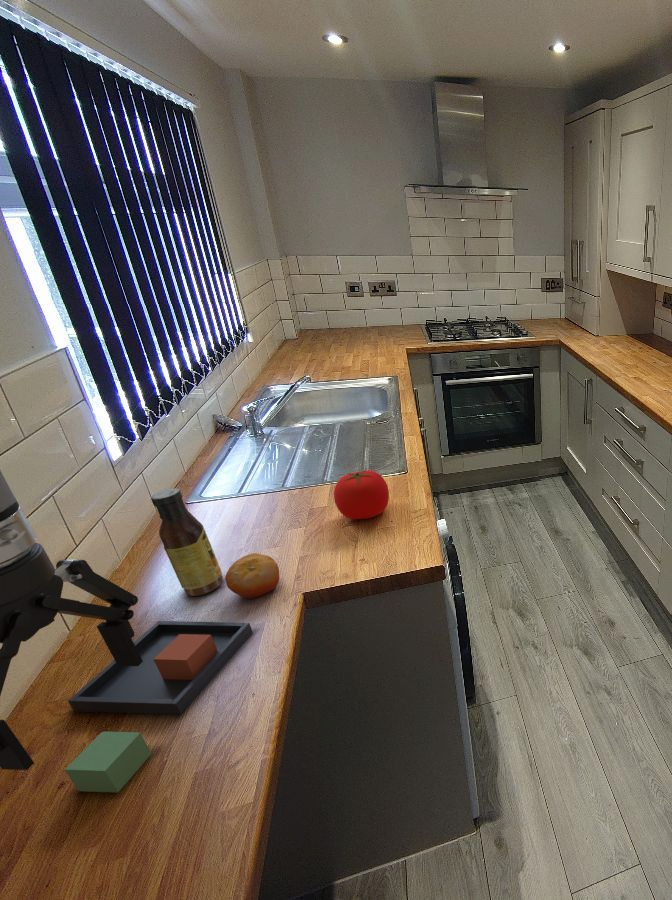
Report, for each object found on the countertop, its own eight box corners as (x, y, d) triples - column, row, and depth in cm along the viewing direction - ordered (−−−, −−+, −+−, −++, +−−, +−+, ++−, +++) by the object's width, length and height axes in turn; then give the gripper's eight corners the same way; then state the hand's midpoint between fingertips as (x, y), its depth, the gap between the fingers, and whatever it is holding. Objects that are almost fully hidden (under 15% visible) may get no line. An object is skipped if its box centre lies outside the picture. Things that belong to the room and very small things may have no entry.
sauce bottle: (231, 583, 98) (196, 490, 90) (193, 602, 94) (153, 506, 85) (214, 571, 102) (179, 481, 93) (177, 589, 97) (136, 496, 89)
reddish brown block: (162, 679, 78) (153, 659, 76) (188, 653, 82) (179, 633, 80) (195, 680, 77) (186, 660, 76) (219, 654, 82) (211, 634, 80)
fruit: (271, 561, 102) (267, 540, 97) (287, 594, 99) (284, 574, 94) (222, 580, 97) (216, 559, 91) (238, 615, 94) (232, 596, 89)
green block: (78, 791, 63) (64, 769, 61) (115, 752, 68) (102, 731, 66) (118, 792, 63) (104, 771, 61) (152, 753, 67) (140, 732, 66)
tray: (73, 711, 73) (67, 701, 72) (162, 630, 88) (158, 620, 87) (181, 714, 73) (175, 704, 72) (253, 632, 87) (249, 622, 86)
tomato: (389, 497, 128) (381, 458, 123) (395, 521, 118) (386, 479, 113) (339, 507, 123) (329, 467, 119) (340, 533, 113) (329, 491, 109)
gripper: (-146, 656, 40) (-8, 825, 49) (131, 496, 63) (192, 631, 72) (-236, 655, 41) (-83, 823, 49) (72, 496, 63) (139, 630, 72)
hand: (80, 710), depth 61 cm, fingers open, 13 cm apart
